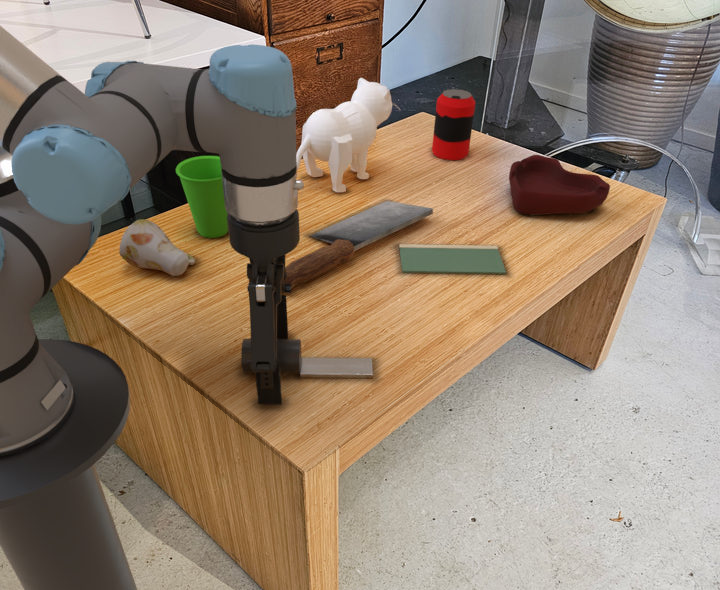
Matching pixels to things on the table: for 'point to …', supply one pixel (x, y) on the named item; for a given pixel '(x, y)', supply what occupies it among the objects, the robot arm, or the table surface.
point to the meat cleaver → (353, 238)
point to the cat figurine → (345, 133)
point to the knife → (311, 362)
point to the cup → (205, 194)
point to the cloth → (451, 259)
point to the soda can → (453, 124)
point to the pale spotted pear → (152, 249)
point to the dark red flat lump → (553, 188)
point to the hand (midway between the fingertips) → (274, 367)
